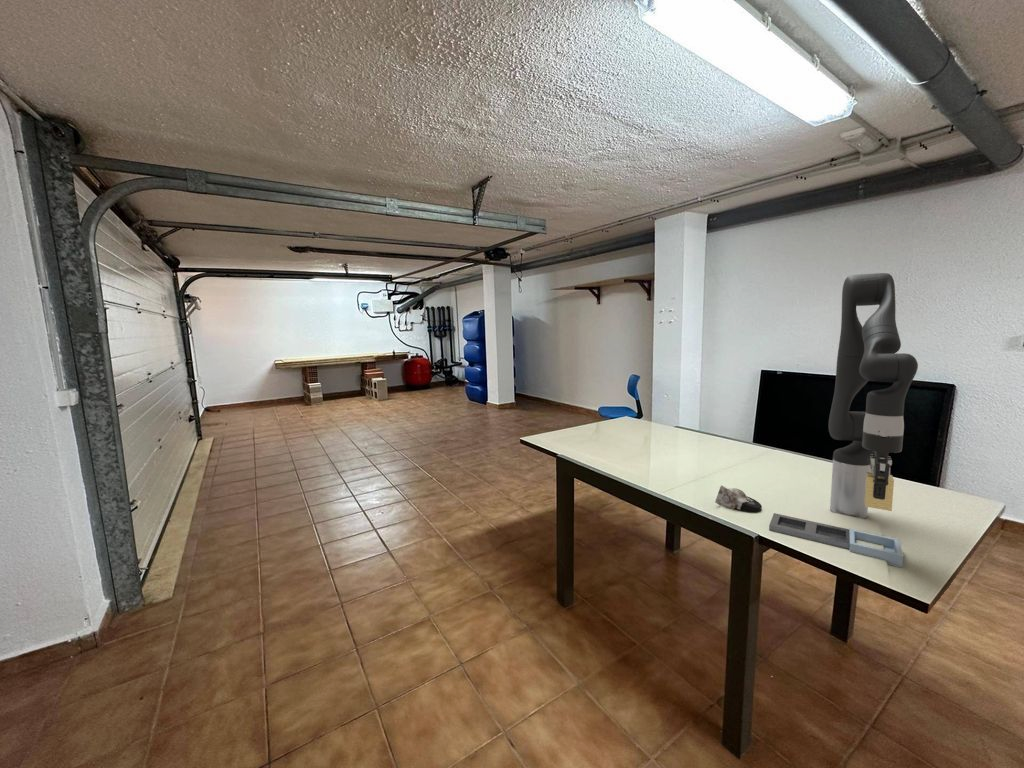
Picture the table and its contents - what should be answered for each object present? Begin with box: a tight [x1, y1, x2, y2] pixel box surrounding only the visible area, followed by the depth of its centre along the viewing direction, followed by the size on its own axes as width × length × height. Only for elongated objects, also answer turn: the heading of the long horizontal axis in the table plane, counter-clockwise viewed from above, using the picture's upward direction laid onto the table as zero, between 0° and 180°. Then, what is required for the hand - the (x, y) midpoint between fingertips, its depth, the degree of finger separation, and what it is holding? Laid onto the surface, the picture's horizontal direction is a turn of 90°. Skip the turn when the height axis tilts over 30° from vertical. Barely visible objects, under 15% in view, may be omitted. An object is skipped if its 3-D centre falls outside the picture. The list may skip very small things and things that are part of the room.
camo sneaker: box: [715, 484, 763, 514], centre depth 132 cm, size 7×11×10 cm
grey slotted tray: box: [768, 512, 850, 550], centre depth 114 cm, size 10×18×2 cm, turn 50°
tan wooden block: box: [864, 472, 895, 512], centre depth 102 cm, size 5×5×8 cm
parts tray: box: [848, 528, 904, 568], centre depth 104 cm, size 10×10×3 cm
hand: (878, 494), depth 102 cm, fingers closed on tan wooden block, 5 cm apart
